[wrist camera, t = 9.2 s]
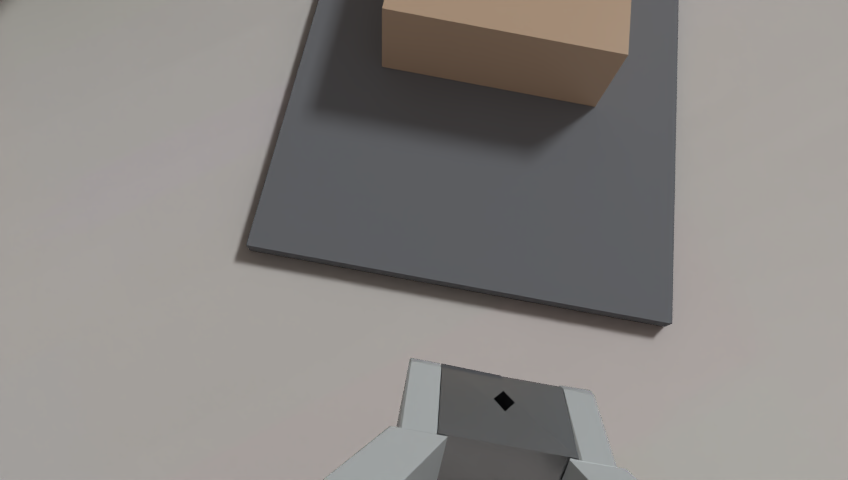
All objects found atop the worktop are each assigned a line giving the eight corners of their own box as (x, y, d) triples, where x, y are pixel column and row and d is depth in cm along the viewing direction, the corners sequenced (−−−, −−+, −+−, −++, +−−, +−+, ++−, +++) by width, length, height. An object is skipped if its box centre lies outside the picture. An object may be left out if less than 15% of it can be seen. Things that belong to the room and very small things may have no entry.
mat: (664, 326, 19) (671, 323, 18) (249, 249, 19) (246, 244, 18) (675, -106, 26) (680, -116, 25) (370, -164, 26) (370, -176, 25)
